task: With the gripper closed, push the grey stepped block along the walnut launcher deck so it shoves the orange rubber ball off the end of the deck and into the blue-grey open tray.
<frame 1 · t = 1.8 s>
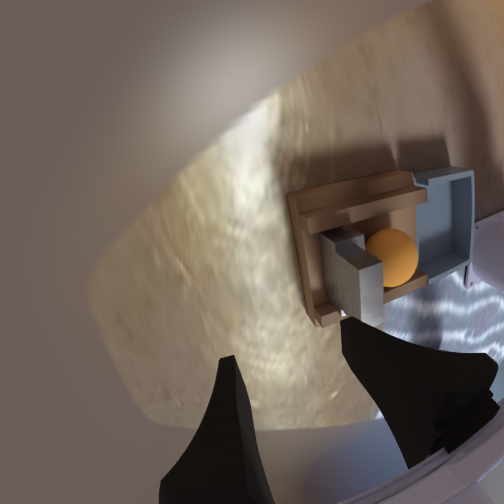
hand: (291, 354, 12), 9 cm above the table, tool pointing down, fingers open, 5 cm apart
launcher: (355, 242, 22), on the table
blue-grey open tray: (430, 218, 22), on the table
ball: (390, 257, 18), point 4 cm above the table, touching launcher
grey stepped block: (353, 278, 17), point 5 cm above the table, slide at 0.0 cm
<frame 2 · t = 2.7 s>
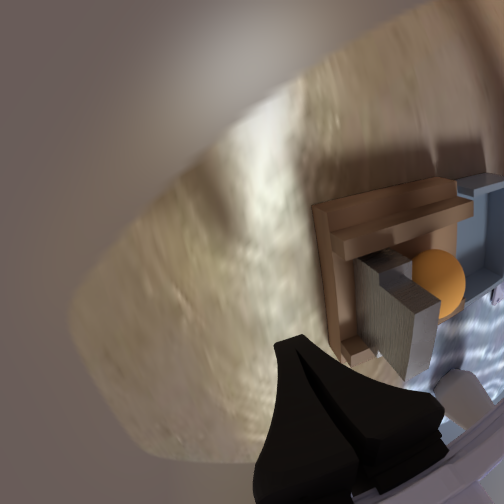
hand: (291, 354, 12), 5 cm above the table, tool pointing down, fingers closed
launcher: (388, 262, 17), on the table
salt shaker: (445, 380, 25), on the table
blue-grey open tray: (466, 232, 18), on the table
ball: (433, 284, 14), point 4 cm above the table, touching launcher
grey stepped block: (396, 314, 13), point 5 cm above the table, slide at 0.0 cm
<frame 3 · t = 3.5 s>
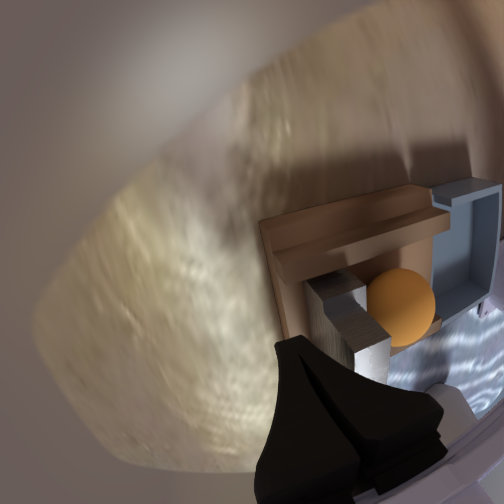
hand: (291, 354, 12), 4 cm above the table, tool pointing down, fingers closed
launcher: (353, 279, 17), on the table
salt shaker: (428, 394, 25), on the table
blue-grey open tray: (447, 243, 17), on the table
ball: (398, 307, 13), point 4 cm above the table, touching launcher
grey stepped block: (348, 342, 12), point 5 cm above the table, slide at 0.1 cm, touching gripper
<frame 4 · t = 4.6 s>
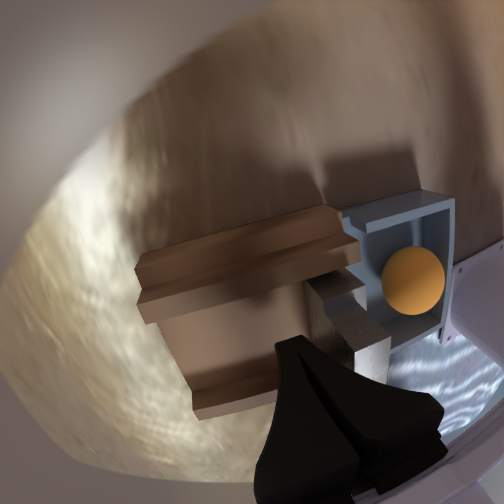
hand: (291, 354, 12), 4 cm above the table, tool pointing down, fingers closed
launcher: (255, 311, 16), on the table
blue-grey open tray: (384, 268, 17), on the table
ball: (413, 280, 15), point 2 cm above the table, tilted 93°, touching blue-grey open tray
grey stepped block: (348, 342, 12), point 5 cm above the table, slide at 6.2 cm, touching gripper
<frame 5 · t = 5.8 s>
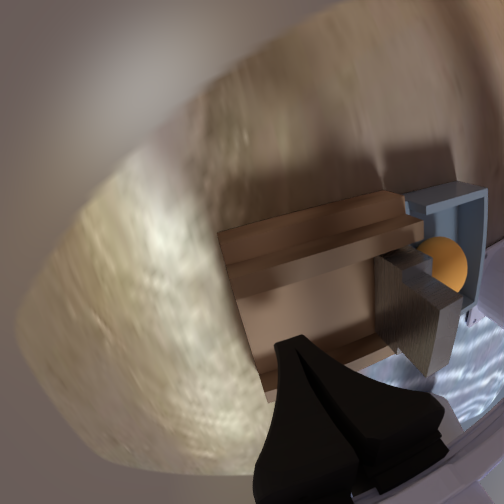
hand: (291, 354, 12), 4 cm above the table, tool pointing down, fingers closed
launcher: (321, 290, 17), on the table
salt shaker: (414, 403, 24), on the table
blue-grey open tray: (428, 251, 17), on the table
ball: (438, 268, 15), point 2 cm above the table, tilted 142°, touching blue-grey open tray
grey stepped block: (416, 311, 12), point 5 cm above the table, slide at 6.3 cm
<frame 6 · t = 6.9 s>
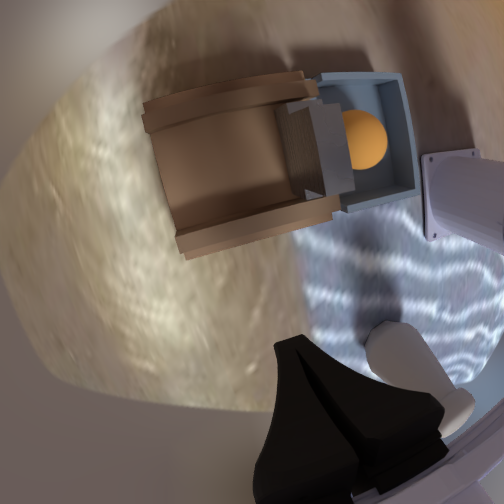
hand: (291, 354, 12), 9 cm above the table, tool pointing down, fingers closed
launcher: (239, 160, 18), on the table
salt shaker: (381, 336, 26), on the table
blue-grey open tray: (353, 138, 19), on the table
ball: (357, 139, 17), point 2 cm above the table, tilted 140°, touching blue-grey open tray
grey stepped block: (315, 148, 14), point 5 cm above the table, slide at 6.3 cm
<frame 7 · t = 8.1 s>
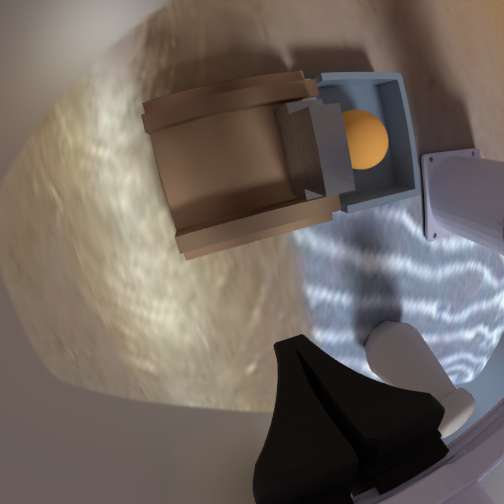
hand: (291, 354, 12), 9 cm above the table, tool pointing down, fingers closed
launcher: (239, 160, 18), on the table
salt shaker: (380, 336, 26), on the table
blue-grey open tray: (353, 138, 19), on the table
ball: (358, 139, 17), point 2 cm above the table, tilted 138°, touching blue-grey open tray
grey stepped block: (315, 148, 14), point 5 cm above the table, slide at 6.3 cm
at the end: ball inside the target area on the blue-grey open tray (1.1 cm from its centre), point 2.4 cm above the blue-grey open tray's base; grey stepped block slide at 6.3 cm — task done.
